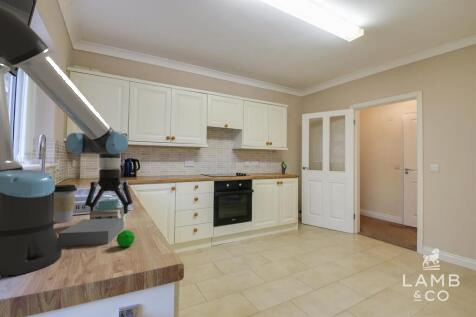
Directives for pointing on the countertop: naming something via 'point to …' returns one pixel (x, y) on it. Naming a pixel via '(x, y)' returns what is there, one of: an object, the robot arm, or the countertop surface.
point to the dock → (91, 232)
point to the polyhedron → (125, 238)
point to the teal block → (109, 204)
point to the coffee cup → (64, 202)
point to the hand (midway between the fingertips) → (109, 222)
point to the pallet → (106, 213)
